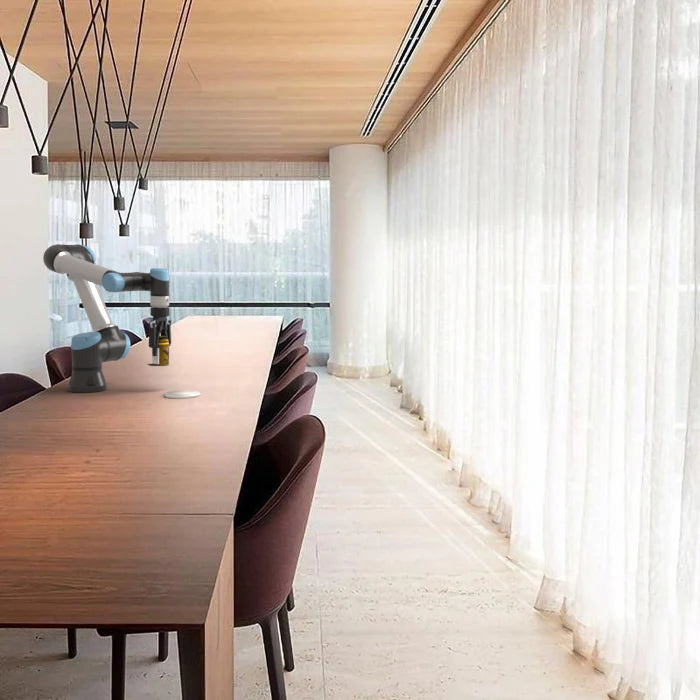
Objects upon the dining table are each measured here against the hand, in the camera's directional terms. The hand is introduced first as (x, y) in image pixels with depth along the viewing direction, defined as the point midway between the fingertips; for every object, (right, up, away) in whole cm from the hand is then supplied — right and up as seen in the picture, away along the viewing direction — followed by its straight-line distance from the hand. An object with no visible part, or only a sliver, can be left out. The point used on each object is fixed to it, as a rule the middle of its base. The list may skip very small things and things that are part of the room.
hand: (160, 362), depth 321 cm
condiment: (0, -1, 0) cm, 1 cm away
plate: (+11, -13, -11) cm, 20 cm away
